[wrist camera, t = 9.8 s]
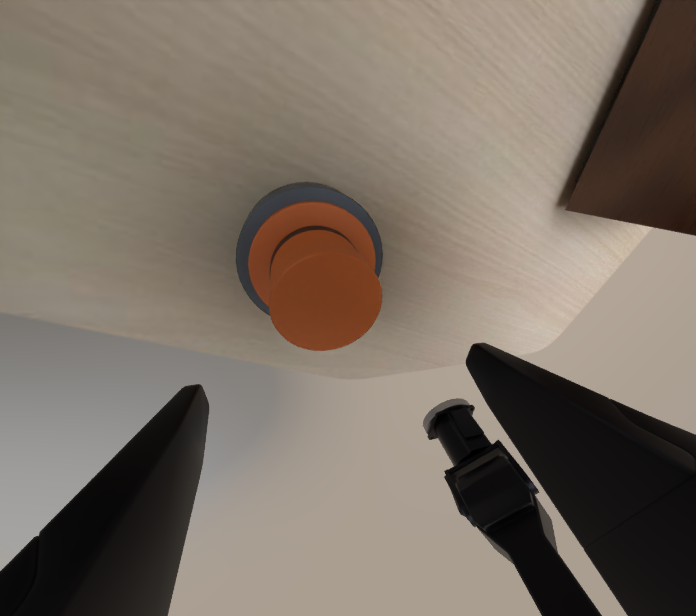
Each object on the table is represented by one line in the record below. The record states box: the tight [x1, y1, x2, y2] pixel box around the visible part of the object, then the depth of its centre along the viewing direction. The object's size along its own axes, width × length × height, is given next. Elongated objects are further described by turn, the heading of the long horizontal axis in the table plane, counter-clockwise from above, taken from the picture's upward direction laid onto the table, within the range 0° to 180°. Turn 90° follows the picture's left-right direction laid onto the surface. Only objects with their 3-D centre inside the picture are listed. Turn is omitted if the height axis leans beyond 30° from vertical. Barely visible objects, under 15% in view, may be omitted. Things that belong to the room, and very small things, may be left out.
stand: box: [236, 182, 383, 315], centre depth 17 cm, size 9×9×2 cm
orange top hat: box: [248, 201, 382, 351], centre depth 13 cm, size 8×8×5 cm
